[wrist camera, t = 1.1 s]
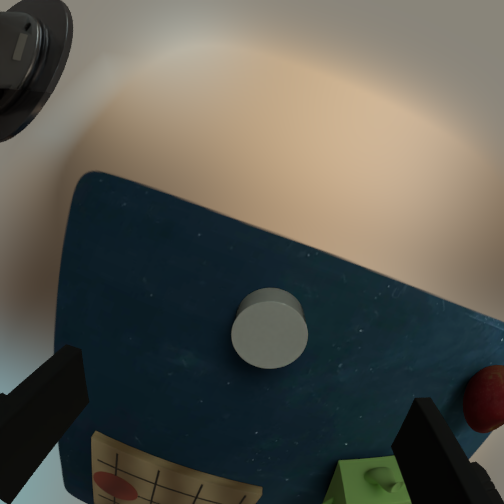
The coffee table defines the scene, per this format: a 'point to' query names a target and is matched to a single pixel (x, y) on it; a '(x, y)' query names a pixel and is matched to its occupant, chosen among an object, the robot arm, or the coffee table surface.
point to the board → (157, 479)
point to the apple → (485, 399)
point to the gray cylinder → (269, 328)
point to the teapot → (367, 482)
